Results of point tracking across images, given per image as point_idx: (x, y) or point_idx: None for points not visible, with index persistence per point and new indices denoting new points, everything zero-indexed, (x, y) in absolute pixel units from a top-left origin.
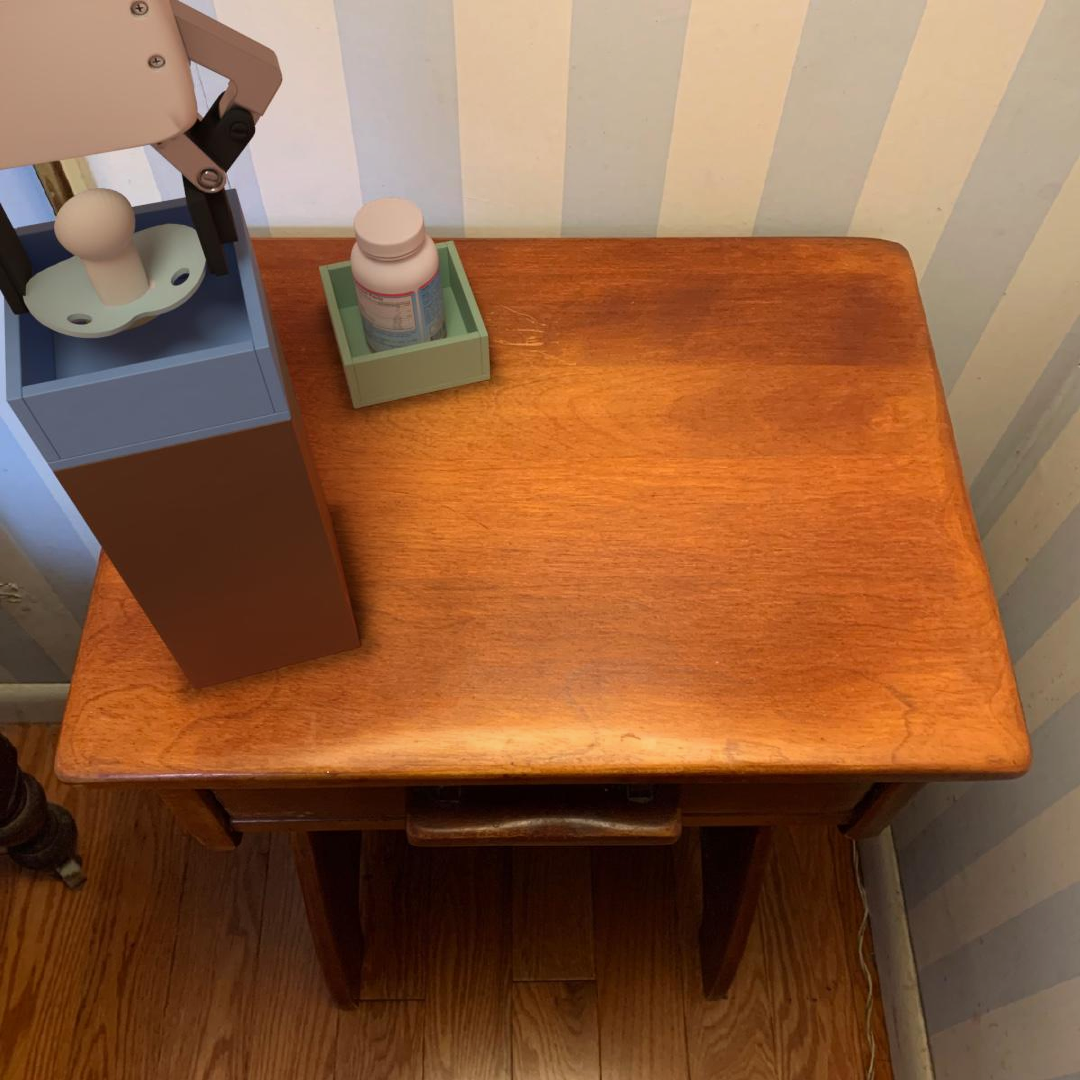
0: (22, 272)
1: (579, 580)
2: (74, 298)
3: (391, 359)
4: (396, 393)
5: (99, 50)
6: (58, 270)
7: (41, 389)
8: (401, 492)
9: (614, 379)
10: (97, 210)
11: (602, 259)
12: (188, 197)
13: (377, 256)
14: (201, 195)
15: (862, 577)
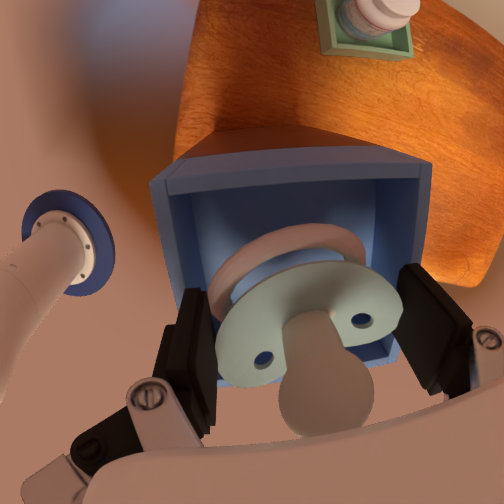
0: (212, 345)
1: None
2: (256, 333)
3: (359, 50)
4: (348, 55)
5: None
6: (240, 307)
7: (227, 385)
8: (339, 118)
9: (448, 88)
10: None
11: (454, 16)
12: (430, 387)
13: (385, 12)
14: (441, 389)
15: (483, 220)
